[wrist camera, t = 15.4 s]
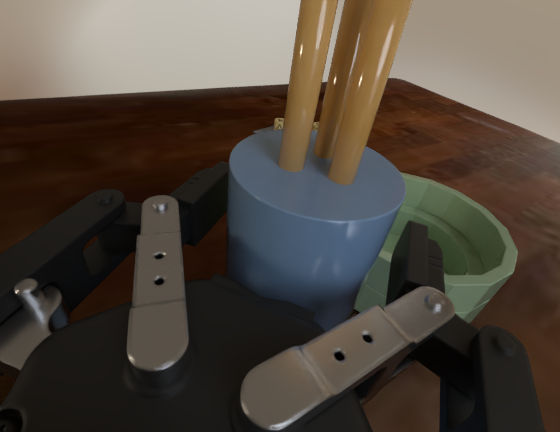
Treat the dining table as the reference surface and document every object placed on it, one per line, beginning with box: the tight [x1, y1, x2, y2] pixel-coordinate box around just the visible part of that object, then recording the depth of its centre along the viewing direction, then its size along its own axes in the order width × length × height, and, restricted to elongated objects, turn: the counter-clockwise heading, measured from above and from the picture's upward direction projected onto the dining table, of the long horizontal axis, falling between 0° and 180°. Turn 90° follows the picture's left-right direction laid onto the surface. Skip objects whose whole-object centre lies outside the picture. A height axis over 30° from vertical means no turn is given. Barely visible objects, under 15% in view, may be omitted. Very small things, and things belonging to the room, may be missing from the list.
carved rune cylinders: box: [253, 118, 319, 134], centre depth 41 cm, size 5×5×2 cm
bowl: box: [355, 172, 518, 323], centre depth 23 cm, size 11×11×6 cm
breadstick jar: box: [225, 0, 413, 332], centre depth 12 cm, size 6×6×19 cm
